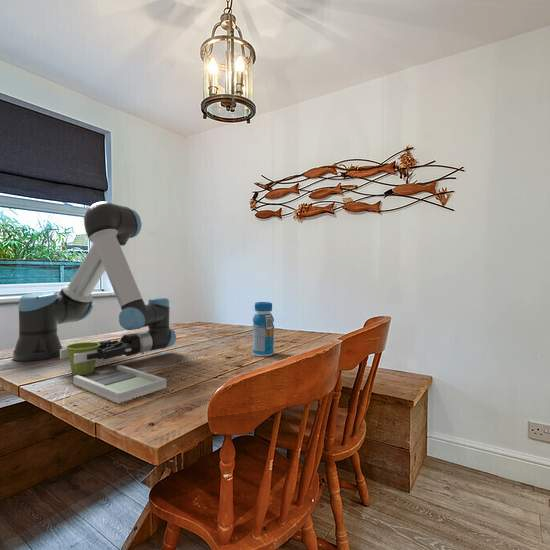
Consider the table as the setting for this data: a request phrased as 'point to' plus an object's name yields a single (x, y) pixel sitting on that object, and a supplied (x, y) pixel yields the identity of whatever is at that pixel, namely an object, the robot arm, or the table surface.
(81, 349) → the plant pot
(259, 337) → the beverage bottle
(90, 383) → the box
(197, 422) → the table surface
